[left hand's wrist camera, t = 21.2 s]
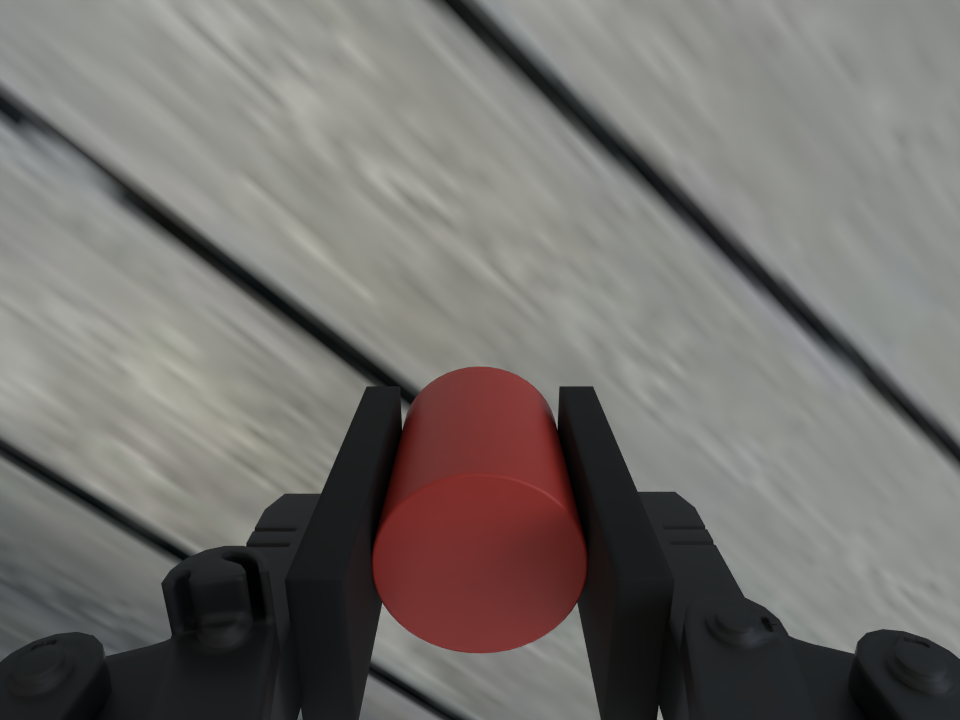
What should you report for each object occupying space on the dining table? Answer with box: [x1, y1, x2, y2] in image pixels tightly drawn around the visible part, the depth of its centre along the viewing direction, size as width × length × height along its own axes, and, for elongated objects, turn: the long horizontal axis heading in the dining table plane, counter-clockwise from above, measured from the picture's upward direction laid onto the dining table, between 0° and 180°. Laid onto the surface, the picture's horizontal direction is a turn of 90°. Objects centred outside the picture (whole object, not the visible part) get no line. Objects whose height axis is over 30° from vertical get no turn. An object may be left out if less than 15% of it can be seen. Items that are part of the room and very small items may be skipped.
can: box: [371, 367, 588, 653], centre depth 13 cm, size 4×4×5 cm
